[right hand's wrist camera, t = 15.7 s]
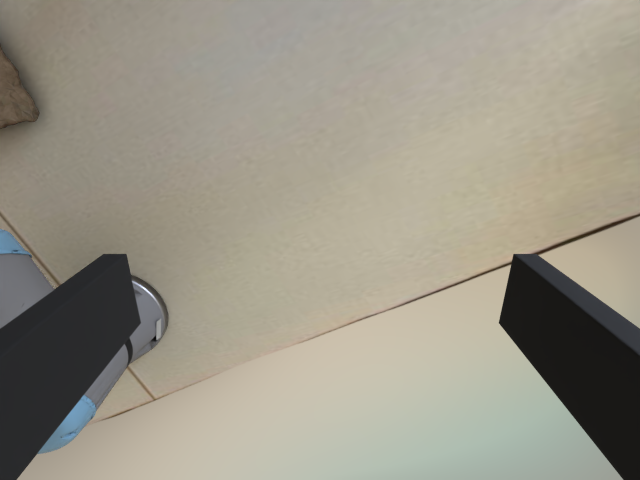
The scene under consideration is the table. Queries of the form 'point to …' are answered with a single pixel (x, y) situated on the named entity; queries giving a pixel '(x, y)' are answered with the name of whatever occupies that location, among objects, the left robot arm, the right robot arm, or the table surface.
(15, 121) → the stone
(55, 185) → the table surface
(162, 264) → the table surface
